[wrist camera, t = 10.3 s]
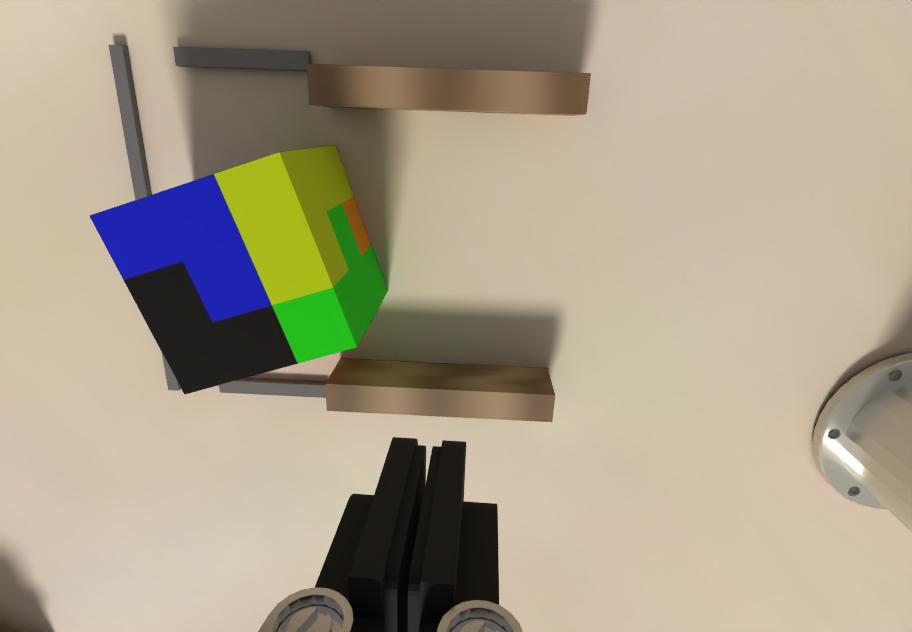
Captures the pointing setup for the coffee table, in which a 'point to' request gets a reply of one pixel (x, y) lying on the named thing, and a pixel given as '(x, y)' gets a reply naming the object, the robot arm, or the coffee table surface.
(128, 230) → the puzzle toy
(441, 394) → the chute
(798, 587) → the coffee table surface
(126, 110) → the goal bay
